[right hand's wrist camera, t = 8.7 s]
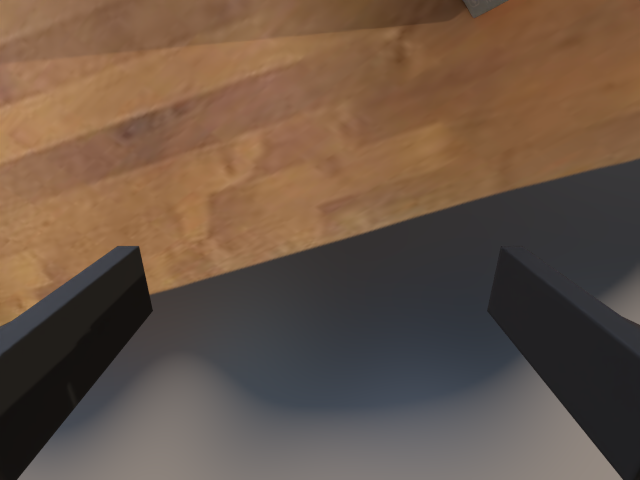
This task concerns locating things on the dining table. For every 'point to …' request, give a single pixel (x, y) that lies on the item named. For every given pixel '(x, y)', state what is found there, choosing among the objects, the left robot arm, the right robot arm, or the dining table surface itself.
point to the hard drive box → (481, 6)
